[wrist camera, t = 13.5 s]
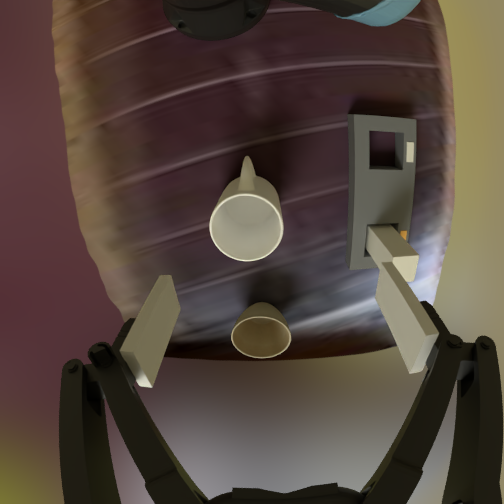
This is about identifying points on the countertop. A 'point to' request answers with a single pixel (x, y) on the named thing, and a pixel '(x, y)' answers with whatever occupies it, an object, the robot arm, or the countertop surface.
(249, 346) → the flower pot
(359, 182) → the panel
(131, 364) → the robot arm
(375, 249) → the plug
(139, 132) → the countertop surface
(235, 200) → the mug
